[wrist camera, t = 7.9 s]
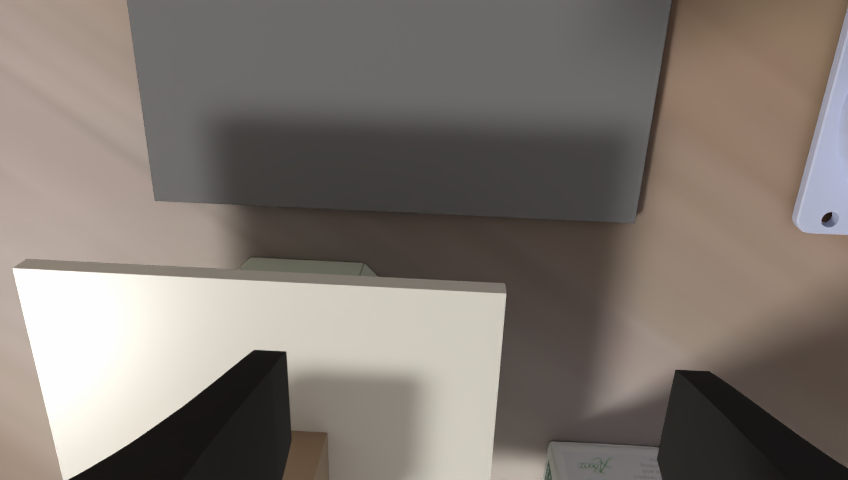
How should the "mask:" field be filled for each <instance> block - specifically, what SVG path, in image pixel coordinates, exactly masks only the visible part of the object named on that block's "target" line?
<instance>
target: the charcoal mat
mask: <svg viewBox="0 0 848 480" xmlns="http://www.w3.org/2000/svg"><path fill="white" fill-rule="evenodd" d="M671 1H672V0H127V5H128V12H129V19H130V26H131V33H132V41H133V48H134V55H135V62H136V69H137V76H138V84H139V91H140V98H141V105H142V112H143V120H144V127H145V134H146V141H147V148H148V156H149V163H150V170H151V177H152V184H153V191H154V199H155V201H169V202H190V203H212V204H233V205H254V206H276V207H297V208H319V209H340V210H361V211H383V212H404V213H425V214H447V215H468V216H489V217H511V218H532V219H553V220H575V221H596V222H618V223H635V218H636V212H637V206H638V200H639V194H640V188H641V182H642V176H643V170H644V164H645V158H646V152H647V146H648V140H649V134H650V128H651V122H652V116H653V110H654V104H655V98H656V92H657V86H658V80H659V74H660V68H661V62H662V56H663V50H664V44H665V38H666V32H667V26H668V20H669V14H670V7H671Z"/></svg>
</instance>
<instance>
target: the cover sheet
mask: <svg viewBox="0 0 848 480" xmlns="http://www.w3.org/2000/svg"><path fill="white" fill-rule="evenodd" d="M13 272H14V276H15V281H16V285H17V289H18V293H19V297H20V301H21V306H22V310H23V314H24V318H25V322H26V327H27V331H28V335H29V339H30V343H31V347H32V352H33V356H34V360H35V364H36V368H37V372H38V377H39V381H40V385H41V389H42V393H43V398H44V402H45V406H46V410H47V414H48V418H49V423H50V427H51V431H52V435H53V439H54V443H55V448H56V452H57V456H58V460H59V464H60V469H61V473H62V477H63V480H68V479H70V478H72V477H74V476H76V475H78V474H79V473H81V472H83V471H85V470H86V469H88V468H90V467H92V466H93V465H95V464H97V463H98V462H100V461H102V460H104V459H105V458H107V457H109V456H110V455H112V454H114V453H115V452H117V451H119V450H120V449H122V448H123V447H125V446H127V445H128V444H130V443H131V442H133V441H134V440H136V439H137V438H139V437H140V436H142V435H143V434H144V433H146V432H147V431H149V430H150V429H152V428H153V427H154V426H156V425H157V424H159V423H160V422H161V421H163V420H164V419H166V418H167V417H169V416H170V415H171V414H173V413H174V412H176V411H177V410H178V409H180V408H181V407H183V406H184V405H185V404H186V403H188V402H189V401H190V400H192V399H193V398H194V397H195V396H197V395H198V394H199V393H201V392H202V391H203V390H204V389H206V388H207V387H208V386H209V385H211V384H212V383H213V382H215V381H216V380H217V379H218V378H220V377H221V376H222V375H223V374H224V373H226V372H227V371H228V370H229V369H231V368H232V367H233V366H234V365H235V364H237V363H238V362H239V361H240V360H242V359H243V358H244V357H245V356H247V355H248V354H249V353H251V352H252V351H253V350H268V351H286V353H287V369H288V386H289V402H290V419H291V435H292V442H291V446H290V450H289V454H288V458H287V463H286V467H285V471H284V475H283V478H282V480H490V476H491V464H492V453H493V441H494V430H495V419H496V407H497V396H498V384H499V373H500V361H501V350H502V338H503V327H504V316H505V304H506V287H505V283H490V282H470V281H451V280H431V279H411V278H392V277H372V276H352V275H333V274H313V273H293V272H274V271H254V270H234V269H215V268H195V267H175V266H156V265H136V264H116V263H96V262H77V261H57V260H37V259H26V260H25V261H23V262H21V263H20V264H18V265H17V266H15V267H14V268H13Z"/></svg>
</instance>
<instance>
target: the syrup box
mask: <svg viewBox="0 0 848 480" xmlns="http://www.w3.org/2000/svg"><path fill="white" fill-rule="evenodd" d="M658 451H659V448H657V447H647V446H630V445H613V444H596V443H576V442H555V441H552V442H550V443H549V444H548V452H547V457H546V462H545V467H544V473H543V478H542V480H662V477H661V473H660V469H659V466H658V462H657V456H658Z"/></svg>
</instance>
